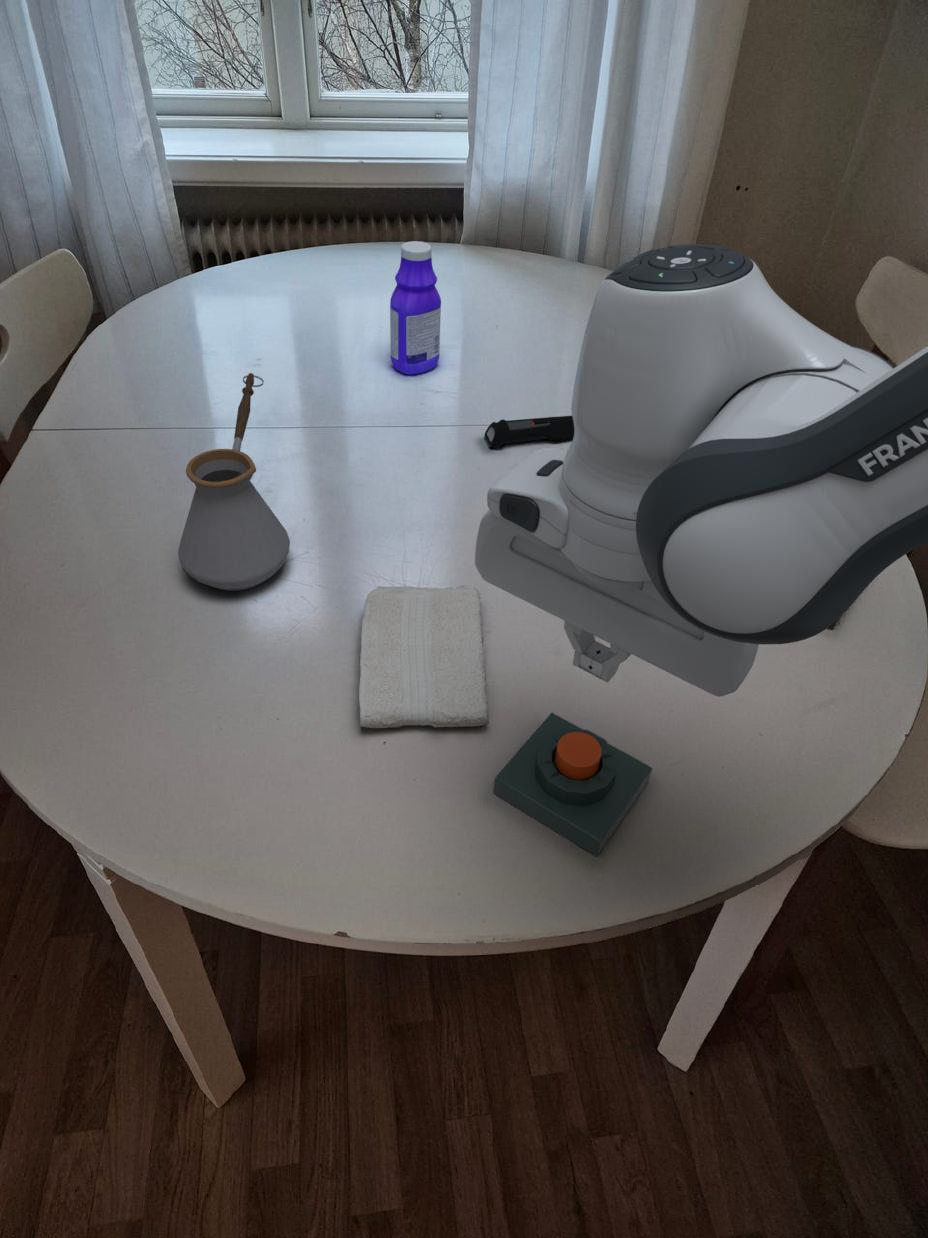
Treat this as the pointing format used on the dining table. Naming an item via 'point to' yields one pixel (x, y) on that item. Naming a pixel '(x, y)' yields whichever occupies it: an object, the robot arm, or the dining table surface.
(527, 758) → the button box
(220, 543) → the coffee pot
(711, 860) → the dining table surface
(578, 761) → the button
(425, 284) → the bottle
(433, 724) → the washcloth
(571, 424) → the electric trimmer
